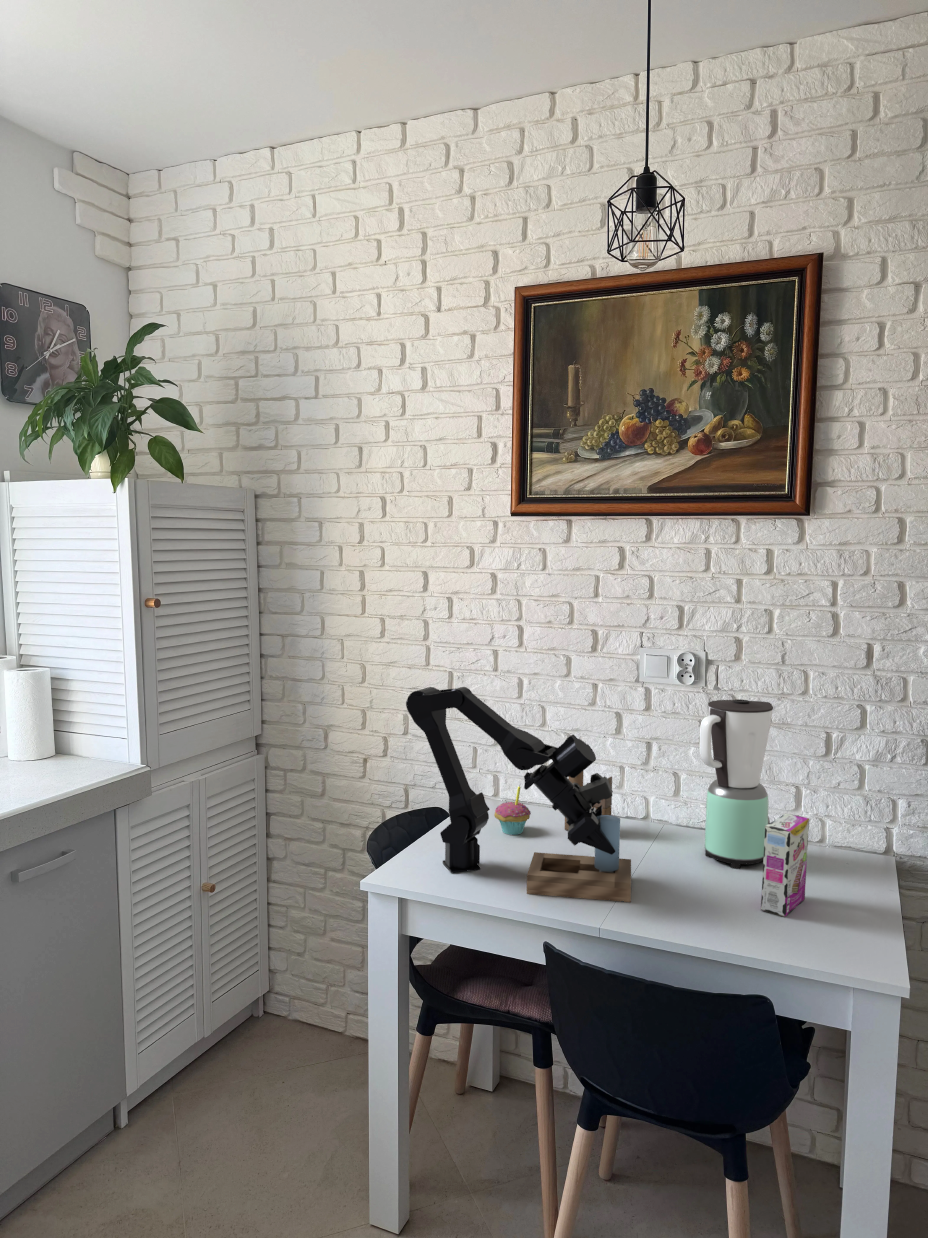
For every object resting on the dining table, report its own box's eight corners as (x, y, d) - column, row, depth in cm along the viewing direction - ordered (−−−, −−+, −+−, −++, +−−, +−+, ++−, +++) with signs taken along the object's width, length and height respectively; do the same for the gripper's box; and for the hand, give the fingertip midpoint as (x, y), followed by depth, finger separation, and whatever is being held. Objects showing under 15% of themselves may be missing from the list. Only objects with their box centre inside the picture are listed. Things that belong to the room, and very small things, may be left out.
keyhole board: (526, 893, 171) (526, 875, 170) (534, 870, 183) (534, 852, 183) (630, 902, 167) (631, 883, 167) (630, 877, 180) (631, 859, 179)
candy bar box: (786, 918, 160) (790, 831, 159) (760, 911, 163) (763, 825, 162) (807, 900, 169) (810, 817, 167) (781, 893, 172) (784, 812, 171)
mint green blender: (739, 843, 201) (744, 693, 198) (786, 862, 189) (792, 702, 186) (677, 857, 192) (681, 699, 189) (723, 877, 180) (728, 710, 177)
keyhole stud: (599, 889, 170) (601, 824, 169) (585, 878, 176) (587, 815, 175) (627, 886, 172) (629, 822, 171) (612, 875, 178) (614, 813, 177)
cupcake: (536, 830, 209) (536, 781, 208) (519, 840, 202) (519, 789, 201) (505, 824, 214) (505, 776, 213) (487, 833, 207) (487, 784, 206)
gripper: (586, 776, 164) (644, 838, 163) (591, 753, 182) (643, 809, 181) (544, 814, 166) (601, 875, 165) (552, 788, 184) (604, 843, 183)
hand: (614, 848), depth 173 cm, fingers closed on keyhole stud, 5 cm apart
